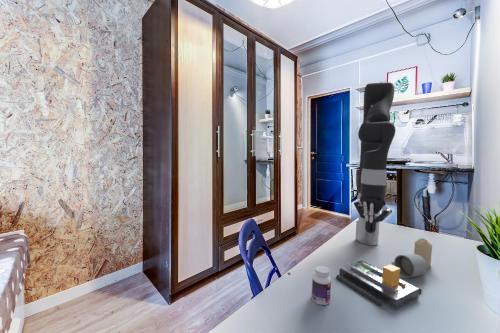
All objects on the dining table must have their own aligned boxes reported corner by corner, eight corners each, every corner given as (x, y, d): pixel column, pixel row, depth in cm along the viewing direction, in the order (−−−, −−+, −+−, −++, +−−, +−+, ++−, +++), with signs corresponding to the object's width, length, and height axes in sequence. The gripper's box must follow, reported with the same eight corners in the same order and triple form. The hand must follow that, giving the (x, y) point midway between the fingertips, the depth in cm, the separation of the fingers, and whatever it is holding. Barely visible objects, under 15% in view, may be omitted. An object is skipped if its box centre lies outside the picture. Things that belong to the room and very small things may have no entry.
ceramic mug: (428, 277, 83) (430, 257, 83) (413, 282, 80) (414, 260, 80) (400, 264, 93) (401, 245, 92) (385, 267, 90) (386, 248, 89)
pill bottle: (330, 307, 67) (332, 275, 66) (311, 303, 68) (312, 272, 68) (329, 295, 72) (330, 265, 71) (311, 292, 74) (312, 263, 73)
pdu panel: (339, 275, 84) (339, 264, 83) (361, 267, 89) (361, 257, 89) (395, 309, 66) (396, 296, 66) (418, 297, 72) (419, 285, 71)
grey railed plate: (335, 278, 82) (336, 275, 82) (370, 266, 90) (370, 263, 90) (386, 310, 66) (386, 306, 66) (421, 292, 75) (421, 288, 74)
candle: (433, 267, 90) (435, 243, 89) (417, 266, 91) (419, 241, 90) (425, 261, 95) (427, 237, 94) (410, 259, 96) (412, 236, 95)
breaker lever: (382, 281, 74) (383, 266, 73) (389, 278, 76) (390, 264, 75) (391, 287, 71) (392, 271, 71) (399, 283, 73) (400, 268, 72)
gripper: (349, 180, 82) (346, 227, 83) (385, 186, 70) (382, 241, 71) (363, 178, 85) (360, 224, 87) (400, 184, 73) (396, 237, 75)
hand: (370, 232), depth 79 cm, fingers closed
